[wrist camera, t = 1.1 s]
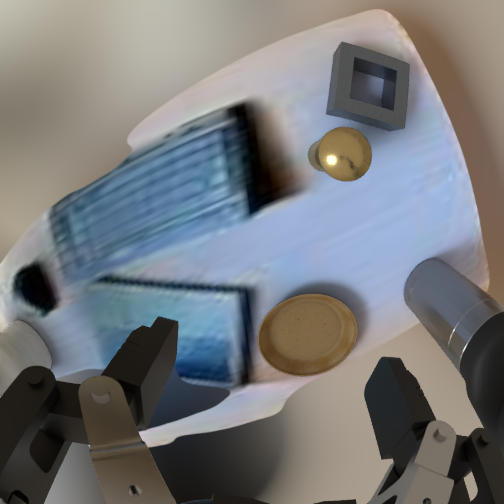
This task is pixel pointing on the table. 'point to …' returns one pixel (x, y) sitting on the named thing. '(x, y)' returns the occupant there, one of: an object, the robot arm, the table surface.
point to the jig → (376, 65)
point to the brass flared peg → (341, 154)
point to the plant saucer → (307, 335)
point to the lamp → (20, 352)
